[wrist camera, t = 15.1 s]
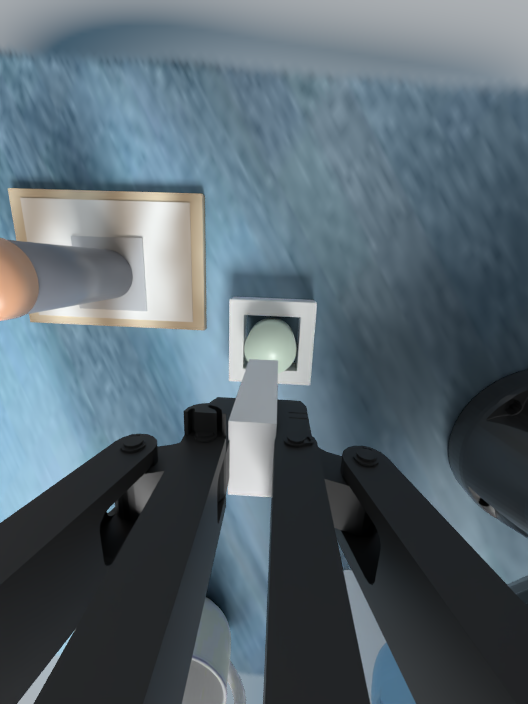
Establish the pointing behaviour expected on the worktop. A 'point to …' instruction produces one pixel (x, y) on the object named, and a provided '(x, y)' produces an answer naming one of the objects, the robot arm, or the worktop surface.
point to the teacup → (212, 662)
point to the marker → (57, 277)
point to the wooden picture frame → (126, 251)
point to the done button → (271, 343)
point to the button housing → (272, 307)
